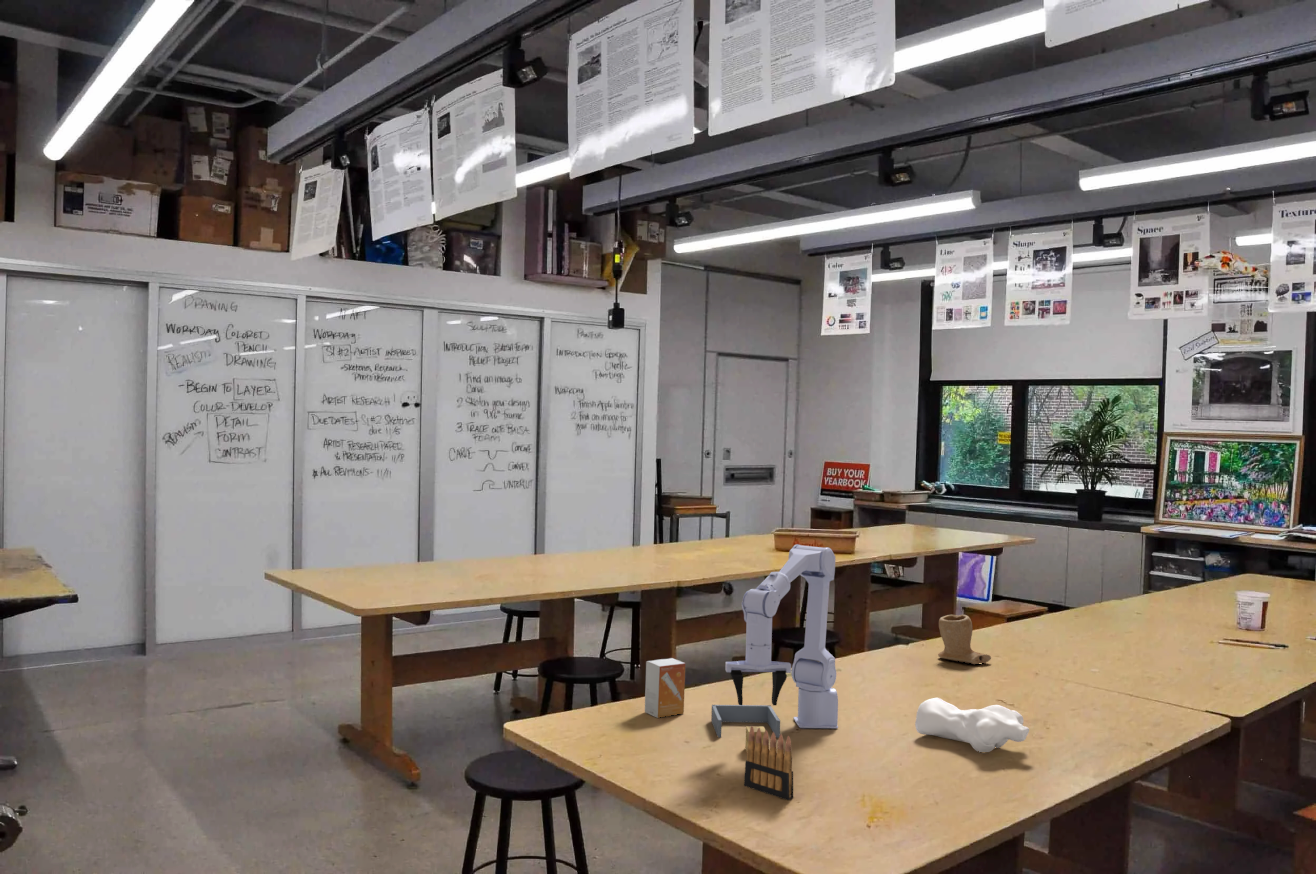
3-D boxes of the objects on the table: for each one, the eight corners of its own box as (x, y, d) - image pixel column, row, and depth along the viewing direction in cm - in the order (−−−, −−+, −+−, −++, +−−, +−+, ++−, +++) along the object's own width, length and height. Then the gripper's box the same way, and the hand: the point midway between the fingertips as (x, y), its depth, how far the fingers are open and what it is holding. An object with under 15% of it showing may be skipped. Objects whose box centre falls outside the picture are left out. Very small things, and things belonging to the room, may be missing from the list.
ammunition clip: (743, 785, 192) (745, 726, 192) (749, 783, 193) (750, 724, 193) (788, 800, 185) (790, 738, 185) (793, 797, 186) (795, 736, 186)
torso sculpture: (907, 746, 224) (1007, 766, 206) (905, 704, 225) (1005, 719, 207) (948, 732, 236) (1047, 749, 218) (946, 692, 237) (1044, 705, 219)
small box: (657, 718, 236) (659, 666, 236) (643, 712, 241) (645, 660, 241) (684, 714, 241) (686, 662, 241) (670, 708, 246) (671, 657, 246)
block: (763, 748, 216) (763, 726, 216) (766, 754, 212) (766, 732, 212) (745, 748, 215) (746, 726, 215) (748, 754, 211) (748, 731, 211)
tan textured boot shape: (929, 660, 310) (931, 613, 310) (949, 655, 318) (950, 610, 318) (972, 669, 298) (974, 621, 298) (991, 663, 306) (993, 617, 306)
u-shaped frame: (770, 721, 236) (770, 705, 236) (779, 737, 224) (780, 720, 224) (711, 721, 235) (711, 704, 235) (717, 737, 223) (718, 720, 223)
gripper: (729, 647, 210) (727, 708, 210) (794, 647, 211) (792, 709, 211) (724, 640, 217) (723, 700, 217) (788, 640, 218) (786, 700, 218)
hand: (757, 704), depth 214 cm, fingers open, 7 cm apart
